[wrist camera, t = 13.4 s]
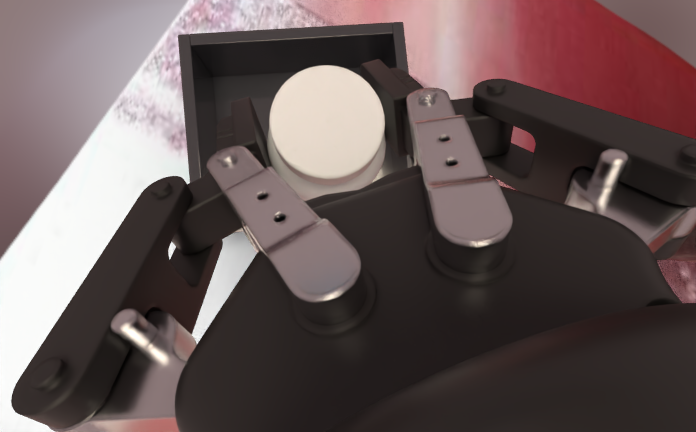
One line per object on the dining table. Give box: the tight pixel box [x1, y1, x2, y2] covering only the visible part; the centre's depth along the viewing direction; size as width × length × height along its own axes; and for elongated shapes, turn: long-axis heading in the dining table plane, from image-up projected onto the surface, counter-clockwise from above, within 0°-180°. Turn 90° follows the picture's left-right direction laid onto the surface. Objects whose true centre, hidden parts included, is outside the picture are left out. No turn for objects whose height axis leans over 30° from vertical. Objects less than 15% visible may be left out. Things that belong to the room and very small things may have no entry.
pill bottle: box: [267, 65, 386, 201], centre depth 14 cm, size 4×4×8 cm
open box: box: [178, 22, 411, 233], centre depth 27 cm, size 16×14×6 cm
